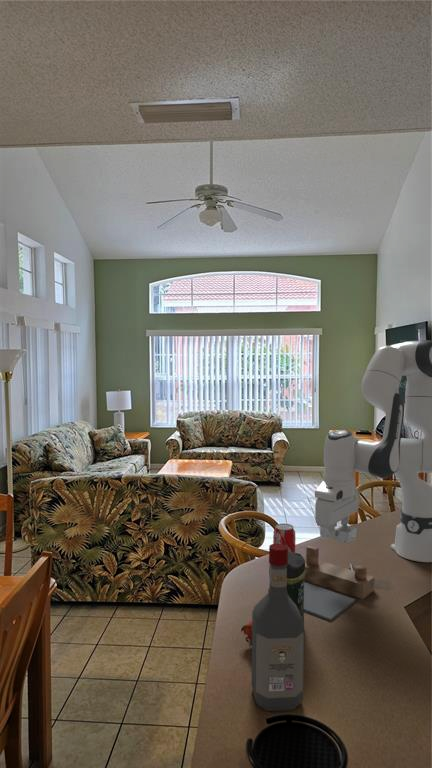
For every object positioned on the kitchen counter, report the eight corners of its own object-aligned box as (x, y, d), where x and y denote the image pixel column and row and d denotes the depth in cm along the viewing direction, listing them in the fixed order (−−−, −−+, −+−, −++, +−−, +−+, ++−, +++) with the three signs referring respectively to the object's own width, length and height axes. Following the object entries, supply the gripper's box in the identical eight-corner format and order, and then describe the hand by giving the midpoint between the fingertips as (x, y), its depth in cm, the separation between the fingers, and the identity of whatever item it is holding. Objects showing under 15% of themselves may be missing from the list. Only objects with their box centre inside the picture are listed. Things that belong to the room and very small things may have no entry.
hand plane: (300, 578, 156) (300, 549, 156) (312, 571, 162) (312, 542, 161) (363, 599, 143) (363, 567, 143) (373, 590, 149) (374, 559, 148)
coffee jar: (295, 644, 121) (296, 566, 120) (263, 635, 125) (264, 559, 124) (308, 625, 130) (309, 552, 128) (278, 617, 133) (279, 546, 132)
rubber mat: (298, 582, 154) (298, 580, 154) (355, 601, 142) (355, 599, 142) (271, 598, 143) (271, 596, 143) (330, 621, 132) (330, 618, 132)
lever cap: (320, 535, 153) (320, 522, 153) (328, 530, 157) (328, 517, 157) (348, 543, 147) (348, 529, 147) (356, 538, 151) (356, 524, 151)
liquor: (305, 711, 99) (307, 555, 97) (257, 713, 98) (259, 556, 96) (294, 680, 108) (296, 538, 106) (250, 682, 107) (251, 539, 105)
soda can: (294, 568, 164) (295, 530, 163) (271, 566, 165) (272, 529, 164) (295, 559, 171) (296, 523, 170) (274, 557, 172) (274, 522, 171)
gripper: (345, 477, 161) (344, 521, 162) (311, 493, 145) (310, 541, 146) (364, 481, 157) (363, 526, 158) (331, 497, 141) (331, 547, 142)
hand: (338, 533), depth 152 cm, fingers closed on lever cap, 5 cm apart
